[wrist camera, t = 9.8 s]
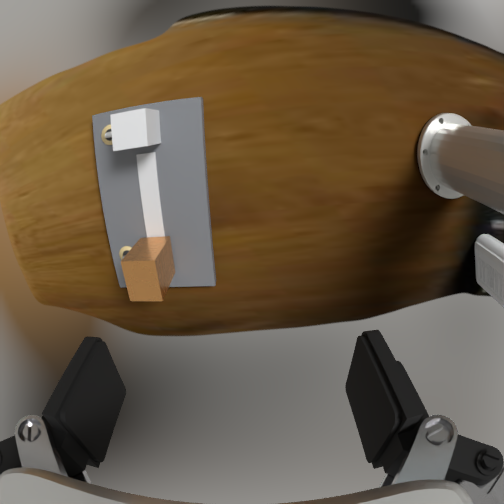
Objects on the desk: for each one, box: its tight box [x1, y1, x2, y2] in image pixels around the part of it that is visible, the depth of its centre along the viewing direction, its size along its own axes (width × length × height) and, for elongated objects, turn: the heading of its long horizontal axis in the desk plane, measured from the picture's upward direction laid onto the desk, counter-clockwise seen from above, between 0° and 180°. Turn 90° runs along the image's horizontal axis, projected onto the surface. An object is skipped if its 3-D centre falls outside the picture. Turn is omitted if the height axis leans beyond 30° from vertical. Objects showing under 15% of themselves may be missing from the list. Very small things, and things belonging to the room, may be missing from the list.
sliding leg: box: [121, 236, 175, 301], centre depth 34 cm, size 7×5×7 cm
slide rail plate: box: [92, 97, 216, 287], centre depth 33 cm, size 14×24×6 cm, turn 2°
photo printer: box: [475, 234, 504, 307], centre depth 35 cm, size 10×4×12 cm, turn 27°
